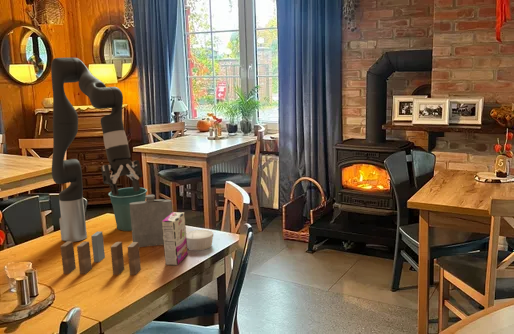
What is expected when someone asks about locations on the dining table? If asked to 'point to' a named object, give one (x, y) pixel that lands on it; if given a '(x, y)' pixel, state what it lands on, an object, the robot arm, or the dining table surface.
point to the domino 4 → (117, 258)
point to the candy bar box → (174, 238)
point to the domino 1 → (68, 257)
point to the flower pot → (125, 206)
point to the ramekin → (199, 239)
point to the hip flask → (149, 220)
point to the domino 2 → (84, 257)
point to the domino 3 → (98, 246)
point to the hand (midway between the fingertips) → (126, 193)
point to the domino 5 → (134, 258)
